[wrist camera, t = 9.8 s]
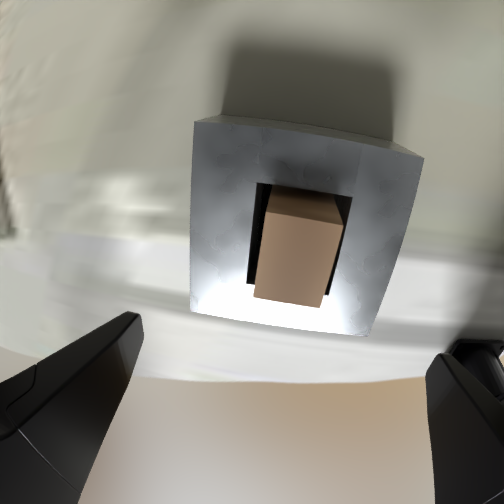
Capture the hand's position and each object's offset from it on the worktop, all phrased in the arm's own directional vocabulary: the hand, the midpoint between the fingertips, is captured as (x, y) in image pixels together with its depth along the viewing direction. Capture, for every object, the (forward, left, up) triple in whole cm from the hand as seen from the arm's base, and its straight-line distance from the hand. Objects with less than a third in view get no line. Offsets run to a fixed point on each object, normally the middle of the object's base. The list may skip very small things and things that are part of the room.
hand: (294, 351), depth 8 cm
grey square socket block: (0, 0, -12) cm, 12 cm away
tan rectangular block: (0, 0, -12) cm, 12 cm away
